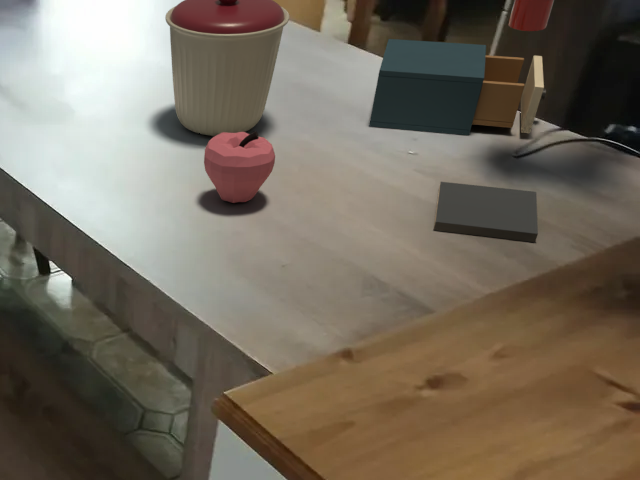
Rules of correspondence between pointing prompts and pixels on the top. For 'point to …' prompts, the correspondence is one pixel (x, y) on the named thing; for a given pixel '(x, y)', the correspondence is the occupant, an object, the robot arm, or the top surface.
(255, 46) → the canister
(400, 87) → the cabinet
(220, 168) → the apple
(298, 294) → the top surface
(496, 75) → the drawer
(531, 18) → the red cylinder
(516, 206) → the board
